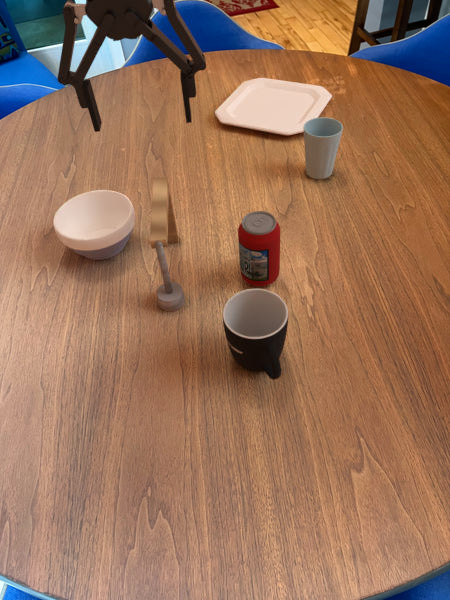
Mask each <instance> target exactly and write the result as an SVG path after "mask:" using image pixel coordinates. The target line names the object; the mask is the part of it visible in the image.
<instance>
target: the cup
mask: <svg viewBox="0 0 450 600" xmlns="http://www.w3.org/2000/svg"><path fill="white" fill-rule="evenodd" d="M343 130H344V126H343V124H342V122H341V121H339V120H338V119H336V118H332V117H325V116H321V117H320V116H319V117H318V118H314V119H311V120H309V121H307V122H306V123H305V124H304V132H303V143H304V144H303V145H304V159H305V161H304V162H305V163H304V164H305V173H306V175H307V176H308V177H309V178H311V179H315V180H324V179H327V178H329V177H330V176H331V175H333V171H334V168H335V167H334V166H335V162H336V158H337V155H338V150H339V147H340V143H341V138H342V134H343Z"/></svg>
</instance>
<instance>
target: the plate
mask: <svg viewBox="0 0 450 600" xmlns="http://www.w3.org/2000/svg"><path fill="white" fill-rule="evenodd" d="M332 98H333V95H332V93H330V92H329V91H328V90H327V89H326V88H325V87H324V86H322V85H317V84H310V83H302V82H296V81H295V82H294V81H289V80H282V79H274V78H269V77H258V78H252V79H247V80H245V81H243V82H241V83H240V85H239V86H237V88H236V89H234V91H232V93H231V94H230V95H229V96H228V97H227V98H226V99H225V100H224V101H223V102H222V103H221V104H220V106H218V107H217V109H216V110H214V115H215V117H216V119H217V120H218V122H220V123H221V124H223V125H227V126H234V127H238V128H242V129H243V128H244V129H249V130H255V131H259V132H264V133H269V134H276V135H281V136H292V135H296V134H301V133H304V124H305V123H306V122H307V121H309V120H311V119H314V118H319V117H320V116H321V114H322V112H323V111H324V109H325V108H326V107H327V105H328V104H329V102H330V101H331V100H332Z"/></svg>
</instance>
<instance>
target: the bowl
mask: <svg viewBox="0 0 450 600" xmlns="http://www.w3.org/2000/svg"><path fill="white" fill-rule="evenodd" d="M52 223H53V229H54V232H55V234H56V236H57V238H58V239H59V241H60V243H62V244H63V245H64V246H65V247H67V248H68V249H70V250H71V251H72V252H75V253H76V254H78V255H80V256H83V257H86V259H90V260H94V261H103V260H107V259H111V258H113V257H115V256H117V255H119V254H120V253H121V252H122V251H123V250H124V248H125V247H126V245H127V243H128V241H129V240H130V238H131V236H132V232H133V231H134V227H135V223H136V211H135V208H134V205H133V203H132V201H131V199H129V197H128V196H126V195H125V194H124V193H121V192H119V191H115V190H109V189H97V190H90V191H86V192H83V193H80V194H77V195H75V196H73V197H71V198H69V199H68V200H67V201H65V202H64V203H63V204H62V205H61V206H59V208H58V209H57V210H56V211H55V214H54V215H53V220H52Z"/></svg>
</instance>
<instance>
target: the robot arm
mask: <svg viewBox="0 0 450 600" xmlns="http://www.w3.org/2000/svg"><path fill="white" fill-rule="evenodd" d="M154 9H156V10H158V11H159V13H160V15H161V16H164V17H165V16H166V18H167V20H168V22H169V24H170V26H171V27H172V29H173V31H174V32H175V34H176V35H177V37H178V39H179V40H180V42H181V43H182V45H183V47H184V48H185V50H186V52H187V53H188V55H189V56H190V58H191V59H190V58H189V57H188V56H187V55H186V54H185V53H184V52H183V51H182V50H181V49H180V48H179V47H177V45H176V44H175V43H174V42H173V41H172V40H170V38H168V37H167V35H166V34H165V33H164V32H163V31H162V30H160V29H159V27H158V26H157V24H156V23H155V22H154V21H153V20H152V19H151V15H152V13H153V11H154ZM62 15H63V20H64V21H63V22H64V26H65V27H64V32H63V33H64V34H63V41H62V47H61V55H60V60H59V66H58V67H59V68H58V73H57V82H58V83H59V84H60V85H66V84H67V85H69V86H72V87H73V88H74V90H75V95H76V97H77V102H78V104H79V107H80V108H81V109H87V110H88V114H89V117H90V120H91V123H92V127H93V131H94V133H99V132H101V128H102V123H103V122H102V121H103V120H102V118H101V114H100V110H99V107H98V103H97V101H96V100H97V99H96V97H95V93H94V89H93V86H92V85H93V84H92V82H91V79H90V78H88V79H87V78H86V76H87V74H88V72H89V71H90V68H91V67H92V64H93V63H94V61H95V59H96V57H97V55H98V53H99V51H100V49H101V48H102V46H103V44H104V42H105V40H106V39H107V38H108V39H110V40H112V41H113V42H120V41H122V40H124V39H128V40H137V39H138V37H140V36H141V35H142V36H143V38H145V39H146V40H147V42H150V43H152V44H153V45H154V46H155V48H157V50H159V51H160V52H161V53H162V54H163V55H164V56H165V57H166V58H167V59H168V60H170V62H171V63H172V64H173V65H174V66H176V68H178V69H179V72H180V76H179V79H180V85H181V93H182V100H183V107H184V116H185V121H186V123H185V124H190V123H191V124H192V108H191V102H190V99H194V98H196V96H197V86H196V77H195V76H196V74H197V73H198V72H200V71H205V70H206V68H207V59H206V56H205V54H204V52H203V50H202V49H201V48H200V46H199V44H198V43H197V41H196V39H195V37H194V35H193V34H192V32H191V31H190V28H189V27H188V26H187V24H186V22H185V21H184V18H182V16H181V14H180V12H179V10H178V9H177V5H176V1H175V0H85V3H75V2H74V1H73V0H67V1H66V2H65V4H64V6H63V8H62ZM84 16H86V17H87V18H88V20H89V21H91V22H92V23H93V25H95V27H96V28H95V31H94V33H93V36H92V37H91V39H90V42H89V43H88V46H87V48H86V50H85V52H84V54H83V56H82V57H81V60H80V62H79V63H78V66H77V68H76V70H75V71H73V70H71V67H72V62H73V61H72V60H73V55H74V49H75V43H76V37H77V31H78V25H80V24H81V23H82V22H83V18H84ZM85 78H86V79H85Z"/></svg>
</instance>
